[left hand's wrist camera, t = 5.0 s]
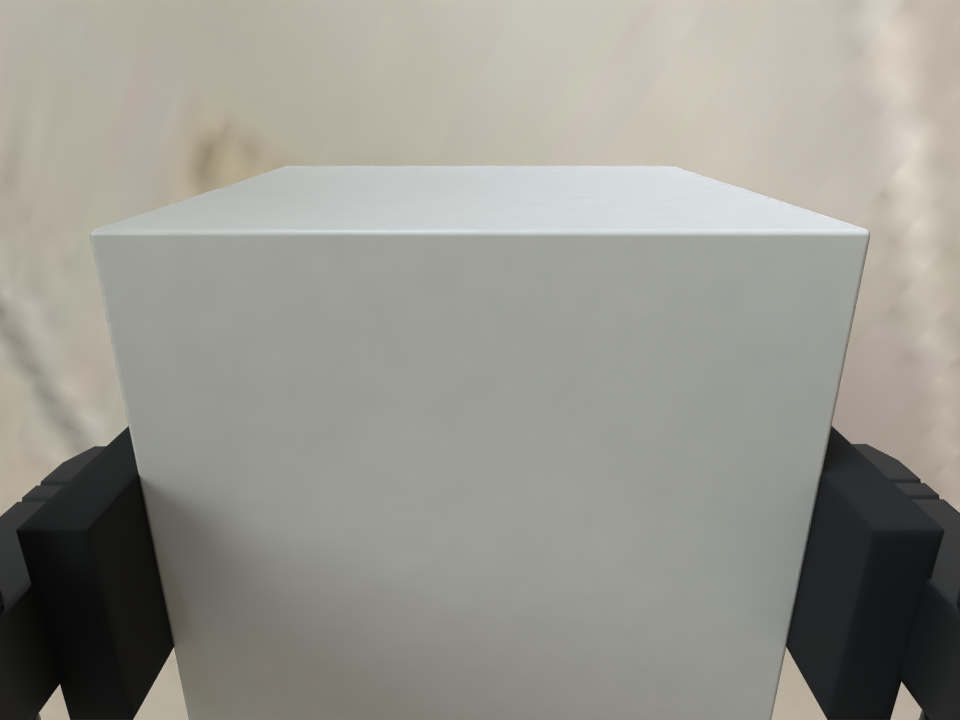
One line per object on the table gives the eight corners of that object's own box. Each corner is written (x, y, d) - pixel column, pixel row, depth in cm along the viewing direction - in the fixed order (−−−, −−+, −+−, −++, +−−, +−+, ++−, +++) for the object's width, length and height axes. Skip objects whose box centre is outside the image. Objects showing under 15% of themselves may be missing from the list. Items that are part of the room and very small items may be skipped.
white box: (318, 513, 18) (204, 804, 10) (283, 165, 14) (85, 229, 7) (641, 513, 18) (755, 804, 10) (676, 166, 14) (874, 229, 7)
